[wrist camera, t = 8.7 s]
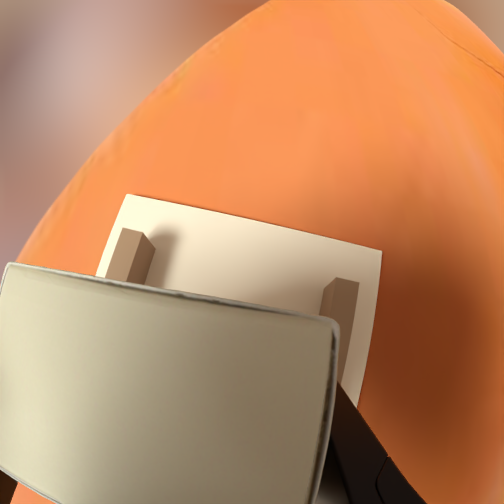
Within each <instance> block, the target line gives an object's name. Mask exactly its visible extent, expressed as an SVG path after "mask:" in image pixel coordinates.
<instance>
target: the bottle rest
mask: <svg viewBox="0 0 504 504" xmlns="http://www.w3.org/2000/svg"><path fill="white" fill-rule="evenodd" d="M381 259H382V251H380V250H376V249H372V248H368V247H364V246H360V245H356V244H352V243H348V242H344V241H340V240H336V239H332V238H328V237H324V236H320V235H315V234H311V233H307V232H303V231H299V230H294V229H290V228H286V227H281V226H277V225H273V224H268V223H264V222H259V221H255V220H251V219H246V218H241V217H237V216H232V215H228V214H223V213H219V212H214V211H209V210H204V209H200V208H195V207H190V206H185V205H180V204H176V203H171V202H166V201H161V200H156V199H151V198H146V197H141V196H135V195H130V194H126V197H125V199H124V201H123V204H122V206H121V209H120V211H119V213H118V216H117V218H116V221H115V223H114V226H113V229H112V231H111V234H110V236H109V239H108V242H107V244H106V247H105V250H104V253H103V255H102V258H101V261H100V264H99V267H98V270H97V273H96V276H98V277H103V278H109V279H114V280H120V281H125V282H131V283H136V284H142V285H149V286H155V287H159V288H164V289H171V290H178V291H184V292H190V293H196V294H202V295H208V296H215V297H219V298H225V299H232V300H238V301H242V302H247V303H254V304H260V305H265V306H270V307H275V308H281V309H287V310H293V311H298V312H303V313H308V314H314V315H320V316H326V317H329V318H331V319H334V320H335V321H336V322H337V323H338V324H339V326H340V345H339V358H338V374H337V381H338V382H339V383H340V385H341V386H342V388H343V389H344V391H345V392H346V394H347V395H348V397H349V398H350V400H351V401H352V402H353V404H354V405H355V407H356V408H357V404H358V400H359V395H360V391H361V387H362V382H363V377H364V373H365V368H366V363H367V358H368V352H369V347H370V341H371V335H372V329H373V323H374V316H375V310H376V302H377V295H378V287H379V278H380V269H381Z"/></svg>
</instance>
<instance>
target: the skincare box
mask: <svg viewBox="0 0 504 504" xmlns="http://www.w3.org/2000/svg"><path fill="white" fill-rule="evenodd" d="M339 345H340V326H339V324H338V323H337V322H336V321H335V320H334V319H331V318H329V317H326V316H320V315H314V314H308V313H303V312H298V311H293V310H287V309H281V308H275V307H270V306H265V305H260V304H254V303H247V302H242V301H238V300H232V299H225V298H219V297H215V296H208V295H202V294H196V293H190V292H184V291H178V290H171V289H164V288H159V287H155V286H149V285H142V284H136V283H131V282H125V281H120V280H114V279H109V278H103V277H98V276H92V275H86V274H80V273H75V272H69V271H64V270H57V269H51V268H46V267H41V266H35V265H29V264H23V263H17V262H13V261H11V262H9V263H8V264H7V265H6V267H5V270H4V273H3V277H2V281H1V285H0V470H2V471H3V472H5V473H6V474H8V475H9V476H11V477H12V478H13V479H15V480H16V481H18V482H20V483H21V484H23V485H25V486H26V487H28V488H30V489H31V490H33V491H35V492H36V493H38V494H39V495H41V496H43V497H45V498H47V499H49V500H51V501H53V502H54V503H56V504H315V500H316V497H317V493H318V490H319V485H320V481H321V476H322V472H323V467H324V462H325V458H326V453H327V448H328V442H329V436H330V430H331V424H332V417H333V410H334V404H335V396H336V386H337V374H338V358H339Z"/></svg>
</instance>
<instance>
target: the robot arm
mask: <svg viewBox="0 0 504 504" xmlns="http://www.w3.org/2000/svg"><path fill="white" fill-rule="evenodd" d="M387 456H388V454H387V452H386V451H385V449H384V448H383V446H382V445H381V443H380V442H379V440H378V439H377V438H376V436H375V435H374V433H373V432H372V430H371V429H370V427H369V426H368V424H367V423H366V421H365V420H364V419H363V417H362V416H361V414H360V413H359V411H358V410H357V408H356V407H355V405H354V404H353V402H352V401H351V400H350V398H349V397H348V395H347V394H346V392H345V391H344V389H343V388H342V386H341V385H340V383H339V382H338V381H337V386H336V396H335V404H334V410H333V417H332V424H331V430H330V436H329V442H328V448H327V453H326V458H325V462H324V467H323V472H322V476H321V481H320V485H319V490H318V493H317V497H316V500H315V504H427V503H426V502H425V501H424V500H423V499H422V498H421V497H420V496H419V494H418V493H417V492H416V491H415V490H414V488H413V487H412V486H411V485H410V484H409V483H408V481H407V480H406V479H405V477H404V476H403V475H402V473H401V472H400V471H399V469H398V468H397V466H396V465H395V464H394V462H393V461H392V459H391V458H390V457H389V456H388V457H387ZM17 482H18V481H16V480H15V479H13V478H12V477H11V476H9V475H8V474H6V473H5V472H3V471H2V470H0V504H10V502H11V500H12V497H13V494H14V492H15V489H16V486H17V484H18V483H17Z"/></svg>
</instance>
